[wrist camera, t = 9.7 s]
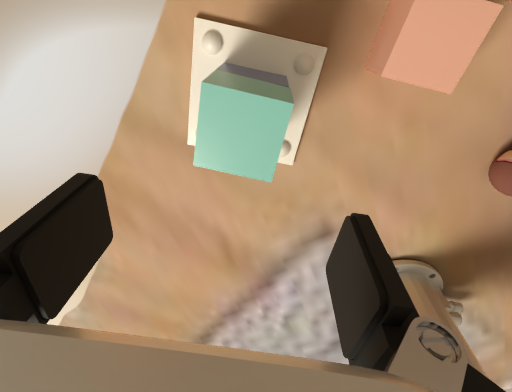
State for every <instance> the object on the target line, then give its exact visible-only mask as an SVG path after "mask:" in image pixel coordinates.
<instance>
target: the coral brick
mask: <svg viewBox="0 0 512 392" xmlns="http://www.w3.org/2000/svg"><path fill="white" fill-rule="evenodd" d="M503 7H504V5H500V4H497V3H493V2H490V1H487V0H391V1H390V3H389V6H388V8H387V11H386V13H385V15H384V18H383V20H382V23H381V25H380V28H379V30H378V33H377V35H376V38H375V40H374V43H373V45H372V47H371V50H370V52H369V55H368V57H367V60H366V62H365V65H364V68H366V69H368V70H370V71H372V72H374V73H375V74H377V75H379V76H382V77H386V78H389V79H393V80H397V81H401V82H405V83H409V84H412V85H416V86H420V87H424V88H428V89H431V90H435V91H439V92H443V93H447V94H451V93H452V91H453V90H454V88H455V86H456V85H457V83H458V81H459V80H460V78H461V76H462V75H463V73H464V71H465V70H466V68H467V66H468V65H469V63H470V62H471V60H472V58H473V57H474V55H475V53H476V52H477V50H478V48H479V47H480V45H481V43H482V42H483V40H484V38H485V37H486V35H487V33H488V32H489V30H490V28H491V27H492V25H493V23H494V22H495V20H496V18H497V17H498V15H499V13H500V12H501V10H502V8H503Z"/></svg>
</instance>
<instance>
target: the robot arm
mask: <svg viewBox="0 0 512 392" xmlns="http://www.w3.org/2000/svg"><path fill="white" fill-rule="evenodd" d="M112 238H113V231H112V226H111V221H110V216H109V211H108V206H107V202H106V197H105V192H104V187H103V183H102V181H101V180H99V179H98V177H97V176H95V175H91V174H84V173H77V174H76V175H74V176H73V177H72V178H70V179H69V180H68V181H67V182H65V183H64V184H63V185H61V186H60V187H59V188H57V189H56V190H55V191H53V192H52V193H51V194H50V195H48V196H47V197H46V198H44V199H43V200H42V201H40V202H39V203H38V204H37V205H35V206H34V207H33V208H31V209H30V210H29V211H27V212H26V213H25V214H24V215H22V216H21V217H20V218H18V219H17V220H16V221H14V222H13V223H12V224H11V225H9V226H8V227H7V228H5V229H4V230H3V231H1V232H0V392H505V391H504V390H503V389H501V388H500V387H499V386H498V385H496V384H495V383H494V382H492V381H491V380H490V379H488V377H487V375H486V374H485V372H484V370H483V369H482V367H481V365H480V364H479V362H478V360H477V359H476V357H475V355H474V354H473V352H472V350H471V349H470V347H469V345H468V344H467V342H466V340H465V339H464V337H463V335H462V334H461V332H460V330H459V329H458V327H457V325H458V326H459V325H461V323H462V317H461V315H460V314H459V313H458V312H460V313H461V312H462V311H463V305H462V304H461V303H458V302H453V301H447V300H446V298H445V296H444V295H443V293H442V290H443V280H442V278H441V276H440V275H439V273H438V272H437V271H436V270H435V268H434V267H432V266H430V265H429V264H427V263H424V262H421V261H416V260H394V261H392V259H391V257H390V256H389V254H388V253H387V251H386V249H385V247H384V245H383V243H382V241H381V239H380V237H379V235H378V233H377V231H376V229H375V227H374V225H373V223H372V221H371V219H370V217H369V216H368V215H364V214H357V213H352V214H351V216H347V217H346V218H345V220H344V222H343V225H342V227H341V230H340V232H339V235H338V237H337V240H336V242H335V245H334V247H333V250H332V252H331V254H330V257H329V259H328V262H327V265H326V275H327V280H328V285H329V290H330V294H331V299H332V304H333V309H334V314H335V319H336V323H337V328H338V333H339V338H340V343H341V348H342V352H343V355H344V357H345V358H348V360H349V365H347V364H340V363H334V362H327V361H321V360H314V359H308V358H301V357H294V356H286V355H279V354H271V353H264V352H257V351H249V350H242V349H235V348H227V347H220V346H212V345H205V344H197V343H189V342H182V341H174V340H167V339H159V338H151V337H143V336H136V335H128V334H120V333H112V332H104V331H96V330H88V329H80V328H72V327H64V326H56V325H48V324H47V322H48V321H49V320H50V319H53V318H55V317H56V316H57V315H58V313H59V312H60V311H61V309H62V308H63V306H64V305H65V304H66V303H67V301H68V300H69V298H70V297H71V296H72V294H73V293H74V292H75V290H76V289H77V288H78V286H79V285H80V283H81V282H82V281H83V280H84V278H85V277H86V276H87V274H88V273H89V271H90V270H91V269H92V267H93V266H94V265H95V263H96V262H97V261H98V259H99V258H100V257H101V255H102V254H103V253H104V251H105V250H106V248H107V247H108V246H109V244H110V243H111V241H112Z"/></svg>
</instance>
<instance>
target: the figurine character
mask: <svg viewBox="0 0 512 392" xmlns="http://www.w3.org/2000/svg"><path fill="white" fill-rule="evenodd" d="M489 179H490V182H491V184H492V185H493V186H494V188H496V189H497V190H498V191H500V192H501V193H503V194H505V195H508V196H512V150H510V151H507V152H505V153H503V154H501V155H500V156H498V157H497V158H496V159H495V160H494V161H493V162H492V164H491V166H490V168H489Z"/></svg>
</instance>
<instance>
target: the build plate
mask: <svg viewBox="0 0 512 392" xmlns="http://www.w3.org/2000/svg"><path fill="white" fill-rule="evenodd" d="M326 51H327V47H323V46H318V45H314V44H310V43H305V42H301V41H297V40H292V39H288V38H284V37H279V36H275V35H271V34H266V33H262V32H258V31H253V30H249V29H245V28H240V27H236V26H232V25H227V24H223V23H219V22H214V21H210V20H205V19H201V18H197V17H195V20H194V38H193V55H192V73H191V91H190V109H189V126H188V144H189V145H194V146H195V143H196V133H197V122H198V112H199V102H200V92H201V82H202V81H203V80H204V79H205V78H206V77H208V76H209V75H210V74H211V73H212V72H213V71H215V70H220V71H224V72H228V73H232V74H236V75H240V76H244V77H248V78H252V79H257V80H261V81H265V82H269V83H273V84H277V85H281V86H285V87H289V88H290V89H291V93H292V97H293V101H294V106H293V109H292V113H291V116H290V120H289V123H288V127H287V130H286V134H285V137H284V141H283V144H282V147H281V151H280V154H279V158H278V161H277V162H278V163H283V164H288V165H293V161H294V158H295V155H296V151H297V148H298V145H299V141H300V138H301V135H302V131H303V128H304V125H305V121H306V118H307V115H308V111H309V108H310V105H311V101H312V98H313V95H314V91H315V88H316V85H317V81H318V78H319V75H320V71H321V68H322V65H323V61H324V58H325V55H326Z"/></svg>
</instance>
